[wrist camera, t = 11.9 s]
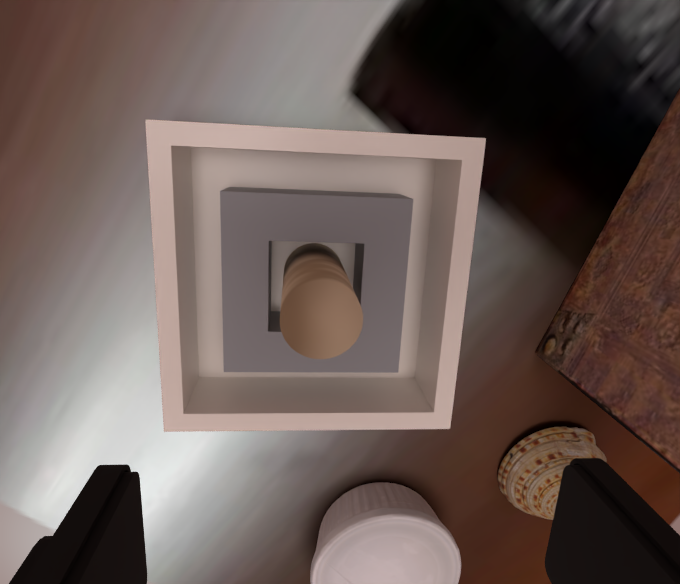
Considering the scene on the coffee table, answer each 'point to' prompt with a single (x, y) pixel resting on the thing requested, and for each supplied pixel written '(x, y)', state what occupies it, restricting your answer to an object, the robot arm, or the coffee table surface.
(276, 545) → the coffee table surface
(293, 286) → the peg
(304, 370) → the plate
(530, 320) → the coffee table surface
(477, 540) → the coffee table surface
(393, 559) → the ramekin
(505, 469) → the seashell
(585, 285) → the book
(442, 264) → the open box
